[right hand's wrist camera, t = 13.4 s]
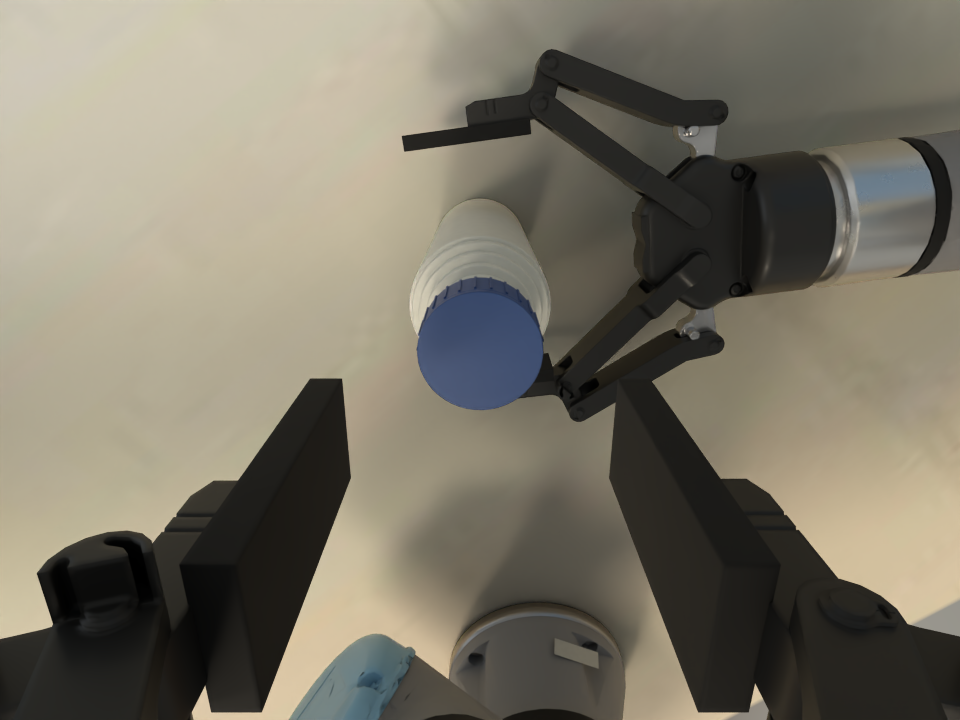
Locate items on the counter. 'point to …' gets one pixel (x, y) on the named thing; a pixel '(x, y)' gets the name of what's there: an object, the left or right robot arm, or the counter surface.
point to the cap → (480, 344)
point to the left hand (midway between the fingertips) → (425, 269)
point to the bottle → (480, 258)
